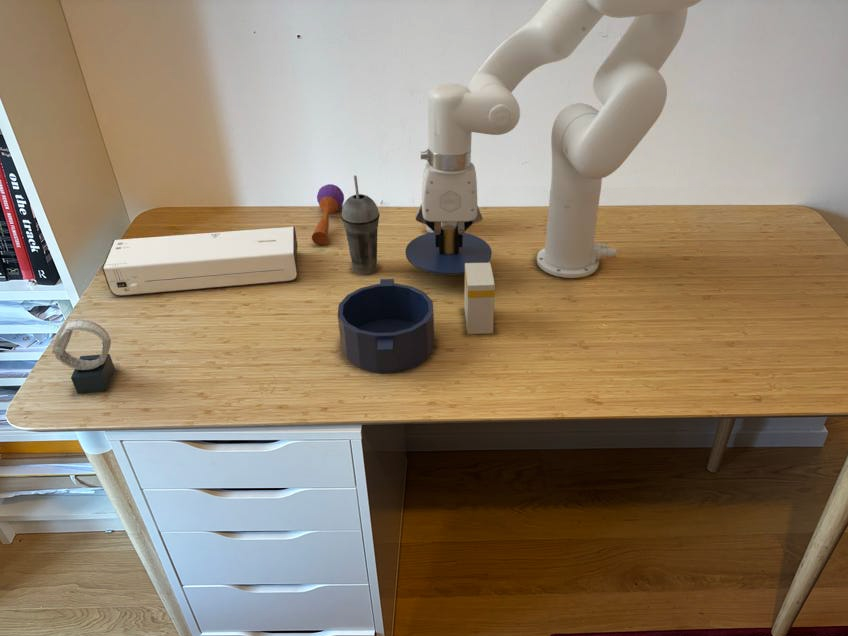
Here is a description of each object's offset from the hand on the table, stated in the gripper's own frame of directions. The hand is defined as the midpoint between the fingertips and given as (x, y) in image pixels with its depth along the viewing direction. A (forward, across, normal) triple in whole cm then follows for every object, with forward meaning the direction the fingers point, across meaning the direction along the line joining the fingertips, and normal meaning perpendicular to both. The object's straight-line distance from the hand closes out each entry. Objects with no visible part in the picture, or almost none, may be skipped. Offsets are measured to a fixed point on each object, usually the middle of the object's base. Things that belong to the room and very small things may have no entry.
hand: (448, 249), depth 138 cm
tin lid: (+1, 0, 0) cm, 1 cm away
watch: (+7, -58, -30) cm, 65 cm away
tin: (+6, -12, -23) cm, 26 cm away
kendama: (+6, -26, +23) cm, 35 cm away
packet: (+6, +4, -17) cm, 18 cm away
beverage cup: (+6, -16, +3) cm, 18 cm away
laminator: (+6, -46, +2) cm, 47 cm away
